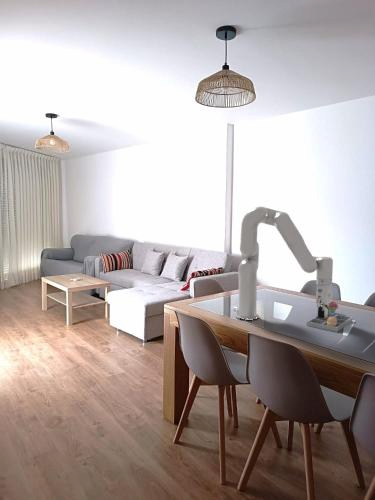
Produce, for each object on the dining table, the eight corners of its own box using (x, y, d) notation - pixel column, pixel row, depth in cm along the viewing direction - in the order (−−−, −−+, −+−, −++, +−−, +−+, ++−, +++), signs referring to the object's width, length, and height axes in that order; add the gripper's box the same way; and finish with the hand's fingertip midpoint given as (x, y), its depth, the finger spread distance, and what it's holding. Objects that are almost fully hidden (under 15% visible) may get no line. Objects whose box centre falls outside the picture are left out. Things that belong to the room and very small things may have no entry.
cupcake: (327, 316, 198) (328, 294, 197) (318, 312, 206) (318, 291, 205) (341, 315, 200) (342, 293, 199) (331, 311, 209) (331, 290, 207)
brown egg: (325, 328, 177) (325, 316, 177) (328, 326, 181) (329, 314, 180) (334, 330, 175) (335, 318, 174) (337, 328, 178) (338, 316, 177)
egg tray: (306, 326, 182) (306, 321, 182) (323, 316, 198) (323, 311, 198) (336, 333, 172) (336, 327, 172) (352, 321, 189) (352, 317, 188)
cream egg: (317, 317, 187) (317, 306, 187) (320, 315, 190) (320, 304, 190) (325, 319, 184) (326, 307, 184) (328, 317, 188) (329, 306, 187)
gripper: (325, 285, 176) (323, 321, 179) (337, 279, 189) (336, 314, 191) (310, 283, 181) (308, 318, 184) (323, 278, 194) (322, 311, 196)
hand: (322, 316), depth 187 cm, fingers closed on cream egg, 4 cm apart
